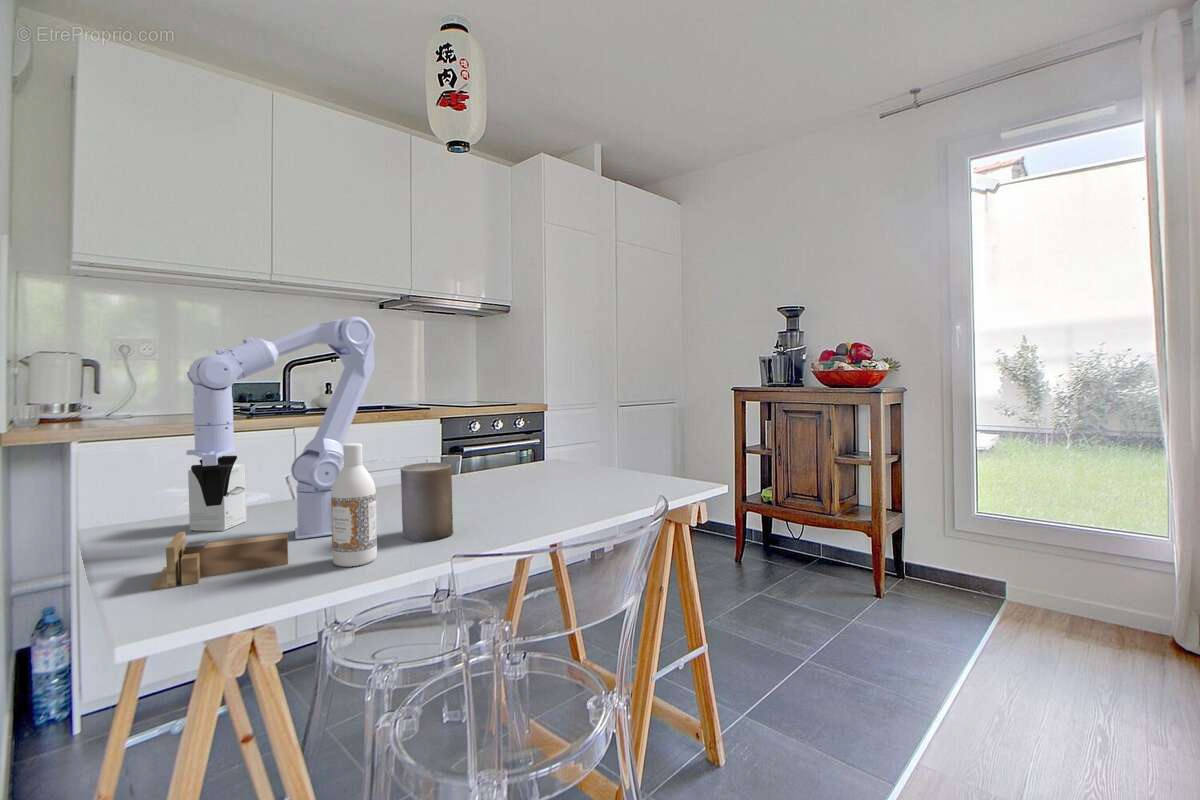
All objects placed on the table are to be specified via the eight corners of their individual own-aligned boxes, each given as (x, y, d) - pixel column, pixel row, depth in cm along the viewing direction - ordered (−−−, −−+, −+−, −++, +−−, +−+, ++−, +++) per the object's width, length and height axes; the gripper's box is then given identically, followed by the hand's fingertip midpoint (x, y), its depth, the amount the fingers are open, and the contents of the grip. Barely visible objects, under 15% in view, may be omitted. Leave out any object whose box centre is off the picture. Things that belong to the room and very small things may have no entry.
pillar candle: (458, 527, 115) (456, 455, 115) (446, 541, 106) (444, 463, 105) (410, 528, 115) (408, 456, 114) (394, 542, 105) (392, 464, 105)
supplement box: (224, 531, 113) (222, 469, 112) (188, 531, 113) (186, 469, 112) (248, 521, 120) (246, 463, 119) (214, 521, 120) (212, 463, 119)
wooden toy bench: (206, 564, 93) (205, 529, 92) (197, 583, 85) (196, 544, 84) (164, 570, 90) (163, 534, 90) (151, 590, 82) (149, 549, 82)
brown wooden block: (288, 559, 96) (287, 530, 96) (287, 564, 93) (287, 534, 93) (187, 573, 89) (186, 542, 89) (184, 579, 86) (183, 547, 86)
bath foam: (323, 565, 93) (320, 445, 92) (353, 552, 99) (350, 441, 98) (357, 569, 90) (354, 447, 90) (385, 556, 97) (383, 442, 96)
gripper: (192, 422, 102) (195, 495, 103) (178, 428, 89) (181, 512, 90) (238, 420, 106) (240, 491, 106) (230, 426, 93) (233, 507, 93)
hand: (216, 500), depth 98 cm, fingers open, 7 cm apart
